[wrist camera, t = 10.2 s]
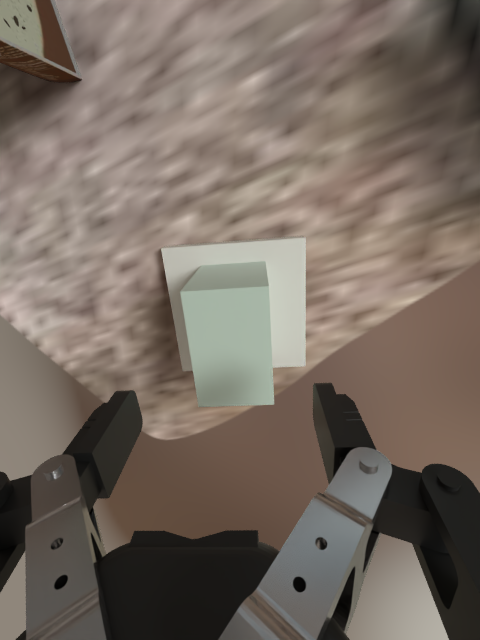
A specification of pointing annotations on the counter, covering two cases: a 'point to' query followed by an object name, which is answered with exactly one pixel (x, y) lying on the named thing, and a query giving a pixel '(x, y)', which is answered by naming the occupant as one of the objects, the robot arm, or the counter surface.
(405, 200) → the counter surface
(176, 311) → the stub plate
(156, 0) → the counter surface
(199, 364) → the block
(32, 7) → the food container
